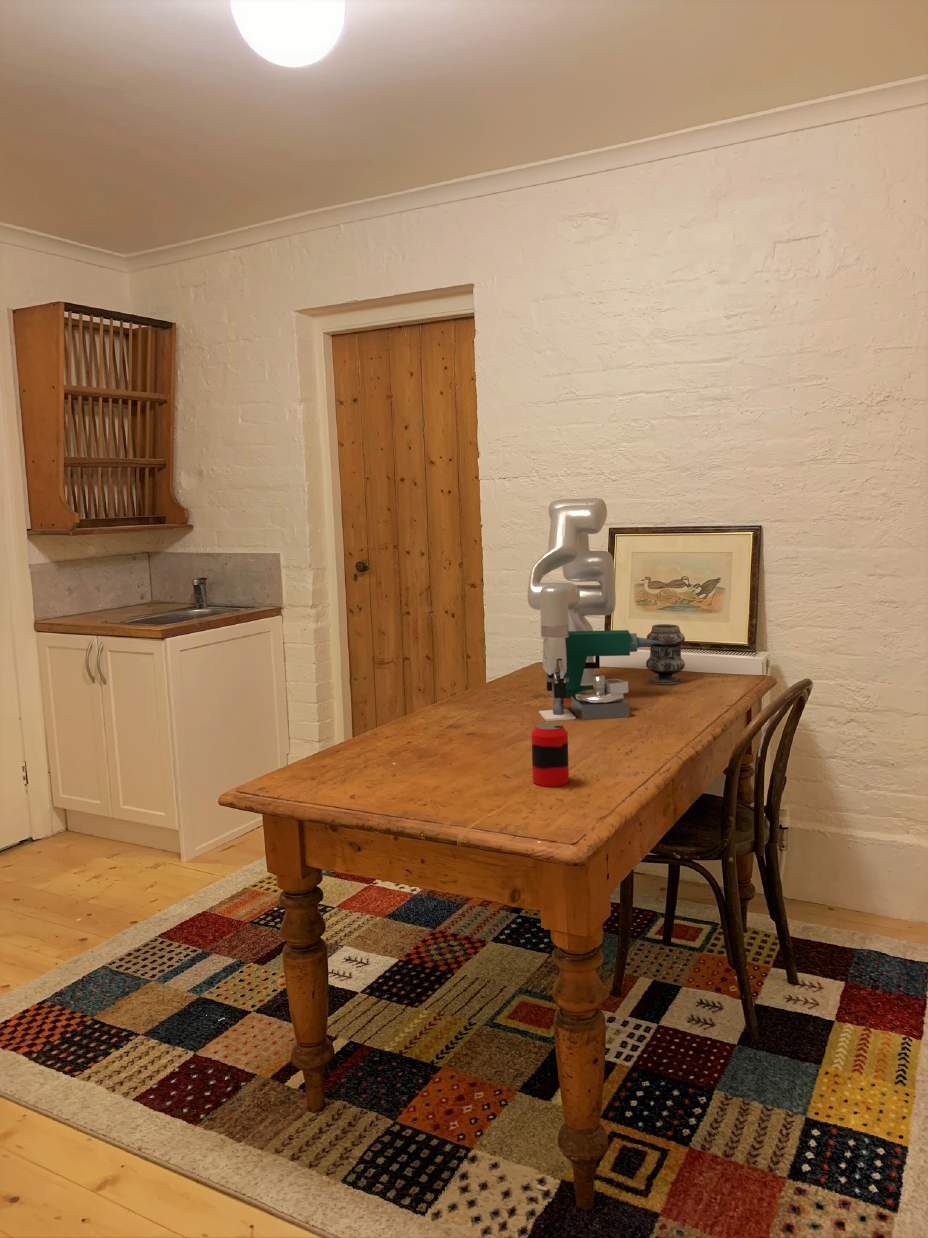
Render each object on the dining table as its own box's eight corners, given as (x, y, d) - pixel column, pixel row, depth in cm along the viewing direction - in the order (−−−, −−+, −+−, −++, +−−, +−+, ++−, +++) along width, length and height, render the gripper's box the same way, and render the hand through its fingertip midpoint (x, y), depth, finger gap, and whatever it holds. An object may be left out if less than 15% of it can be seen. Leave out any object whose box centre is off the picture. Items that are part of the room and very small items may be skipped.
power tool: (662, 696, 281) (661, 629, 279) (664, 701, 275) (664, 632, 272) (553, 697, 285) (552, 631, 282) (553, 702, 278) (552, 634, 275)
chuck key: (547, 712, 262) (546, 677, 261) (569, 712, 262) (568, 676, 261) (547, 715, 260) (546, 679, 258) (569, 715, 259) (568, 678, 258)
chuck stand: (571, 709, 268) (570, 695, 267) (616, 707, 269) (616, 693, 269) (582, 720, 255) (581, 705, 254) (629, 717, 256) (629, 702, 256)
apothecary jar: (688, 685, 296) (688, 627, 294) (649, 686, 296) (649, 629, 294) (680, 677, 308) (680, 622, 306) (643, 679, 308) (642, 623, 306)
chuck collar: (566, 696, 264) (566, 675, 264) (607, 690, 271) (607, 669, 270) (593, 704, 253) (593, 682, 252) (636, 698, 259) (635, 676, 258)
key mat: (539, 713, 265) (538, 710, 265) (567, 711, 266) (567, 709, 266) (546, 721, 255) (546, 718, 255) (575, 719, 256) (575, 717, 256)
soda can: (563, 788, 196) (562, 731, 195) (528, 785, 199) (526, 729, 197) (572, 778, 203) (571, 723, 202) (538, 775, 206) (536, 721, 204)
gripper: (535, 628, 266) (536, 688, 268) (547, 636, 249) (549, 701, 251) (561, 626, 267) (562, 687, 269) (575, 635, 250) (577, 699, 252)
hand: (556, 694), depth 260 cm, fingers open, 9 cm apart
